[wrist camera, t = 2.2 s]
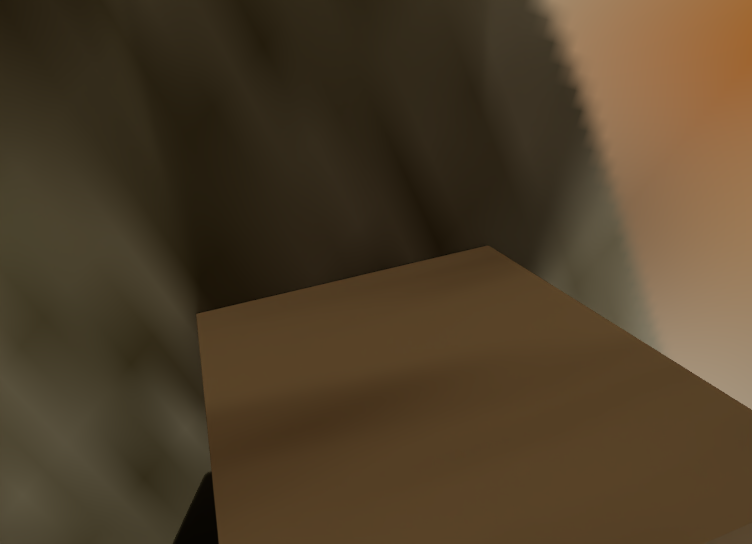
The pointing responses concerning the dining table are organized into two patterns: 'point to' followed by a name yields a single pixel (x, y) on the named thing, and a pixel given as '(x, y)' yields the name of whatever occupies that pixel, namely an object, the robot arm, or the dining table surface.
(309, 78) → the dining table surface
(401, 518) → the walnut block
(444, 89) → the dining table surface
